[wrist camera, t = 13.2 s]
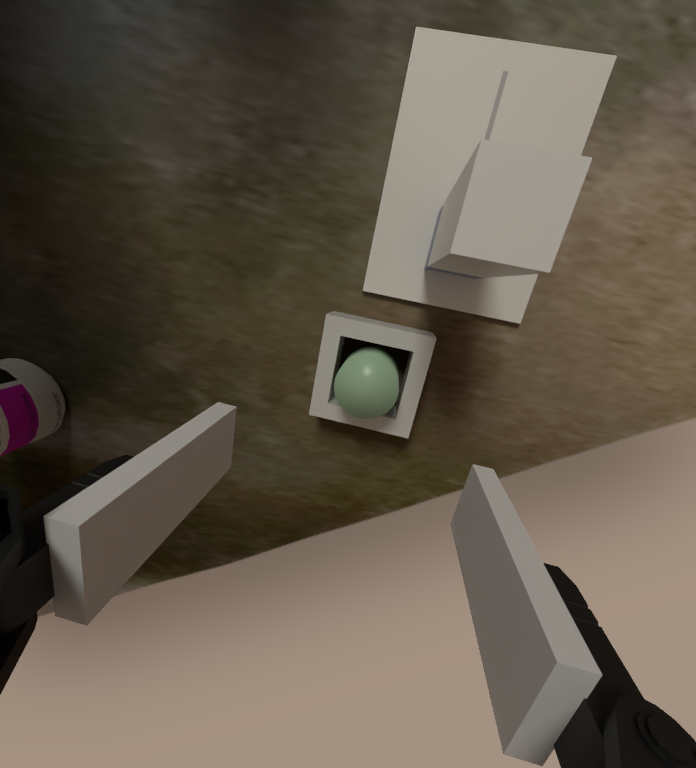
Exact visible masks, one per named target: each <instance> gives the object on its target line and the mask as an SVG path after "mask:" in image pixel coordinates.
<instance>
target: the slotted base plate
mask: <svg viewBox="0 0 696 768" xmlns="http://www.w3.org/2000/svg"><path fill="white" fill-rule="evenodd" d="M616 57H617V56H614V55H607V54H601V53H594V52H587V51H580V50H573V49H566V48H559V47H552V46H545V45H539V44H532V43H525V42H518V41H511V40H504V39H497V38H490V37H483V36H477V35H470V34H463V33H456V32H449V31H442V30H435V29H428V28H421V27H416V30H415V35H414V40H413V45H412V50H411V55H410V60H409V65H408V70H407V75H406V80H405V85H404V90H403V94H402V99H401V104H400V109H399V114H398V119H397V124H396V129H395V134H394V139H393V144H392V149H391V154H390V159H389V164H388V169H387V173H386V178H385V183H384V188H383V193H382V198H381V203H380V208H379V213H378V218H377V223H376V228H375V233H374V238H373V243H372V247H371V252H370V257H369V262H368V267H367V272H366V277H365V282H364V287H363V291H366V292H371V293H376V294H380V295H385V296H390V297H395V298H399V299H404V300H409V301H414V302H419V303H423V304H428V305H433V306H438V307H442V308H447V309H452V310H457V311H461V312H466V313H471V314H476V315H481V316H485V317H490V318H495V319H500V320H504V321H509V322H514V323H519V324H520V323H521V321H522V318H523V315H524V312H525V309H526V307H527V304H528V301H529V298H530V296H531V293H532V290H533V287H534V284H535V282H536V279H537V276H538V274H530V275H518V276H506V277H494V278H481V279H474V278H469V277H464V276H459V275H454V274H449V273H444V272H439V271H434V270H429V269H424V268H425V264H426V260H427V256H428V252H429V248H430V244H431V240H432V237H433V233H434V229H435V225H436V221H437V217H438V213H439V211H440V209H441V207H442V206H443V204H444V202H445V200H446V199H447V197H448V195H449V194H450V192H451V190H452V188H453V187H454V185H455V183H456V182H457V180H458V178H459V176H460V175H461V173H462V171H463V169H464V168H465V166H466V164H467V163H468V161H469V159H470V157H471V156H472V154H473V152H474V151H475V149H476V147H477V145H478V144H479V142H480V140H481V139H485V140H491V141H497V142H503V143H509V144H515V145H521V146H526V147H532V148H538V149H544V150H550V151H556V152H562V153H568V154H574V155H579V156H581V154H582V151H583V149H584V146H585V143H586V140H587V138H588V135H589V132H590V129H591V126H592V124H593V121H594V118H595V115H596V113H597V110H598V107H599V104H600V101H601V99H602V96H603V93H604V90H605V88H606V85H607V82H608V79H609V76H610V74H611V71H612V68H613V65H614V63H615V60H616Z"/></svg>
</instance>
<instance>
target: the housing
mask: <svg viewBox="0 0 696 768" xmlns="http://www.w3.org/2000/svg"><path fill="white" fill-rule="evenodd" d="M345 337H349V338H353V339H358V340H362V341H367V342H371V343H376V344H381V345H385V346H390V347H394V348H399V349H403V350H408V351H410V354H409V357H408V361H407V365H406V369H405V373H404V376H403V380H402V384H401V388H400V392H399V396H398V399H397V403H396V406H393V407H392V408H391V409H390V410H389V411H388V412H387V413H386V414H384V415H382V416H380V417H377V418H373V419H361V418H357V417H354V416H352V415H350V414H349V413H347V412H346V411H345V410H344V409H343V408H342V407H341V406H340V405H339V403H338V402H337V399H336V397H335V394H334V381H335V377H336V375H337V373H338V371H339V366H340V361H341V356H342V351H343V345H344V340H345ZM436 339H437V338H436V336H435V335H434V334H433V332H429V331H424V330H420V329H415V328H410V327H406V326H401V325H396V324H392V323H387V322H383V321H378V320H373V319H369V318H364V317H359V316H355V315H350V314H346V313H341V312H336V311H333V312H330V313H328V314H326V319H325V324H324V330H323V336H322V342H321V348H320V353H319V359H318V365H317V371H316V377H315V382H314V388H313V394H312V400H311V406H310V411H309V415H313V416H317V417H321V418H325V419H329V420H333V421H338V422H342V423H346V424H350V425H354V426H358V427H362V428H366V429H371V430H375V431H379V432H383V433H387V434H391V435H395V436H400V437H404V438H409V434H410V431H411V427H412V424H413V420H414V417H415V413H416V409H417V406H418V402H419V399H420V395H421V392H422V388H423V385H424V381H425V378H426V374H427V371H428V367H429V364H430V360H431V357H432V353H433V350H434V346H435V343H436Z"/></svg>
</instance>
